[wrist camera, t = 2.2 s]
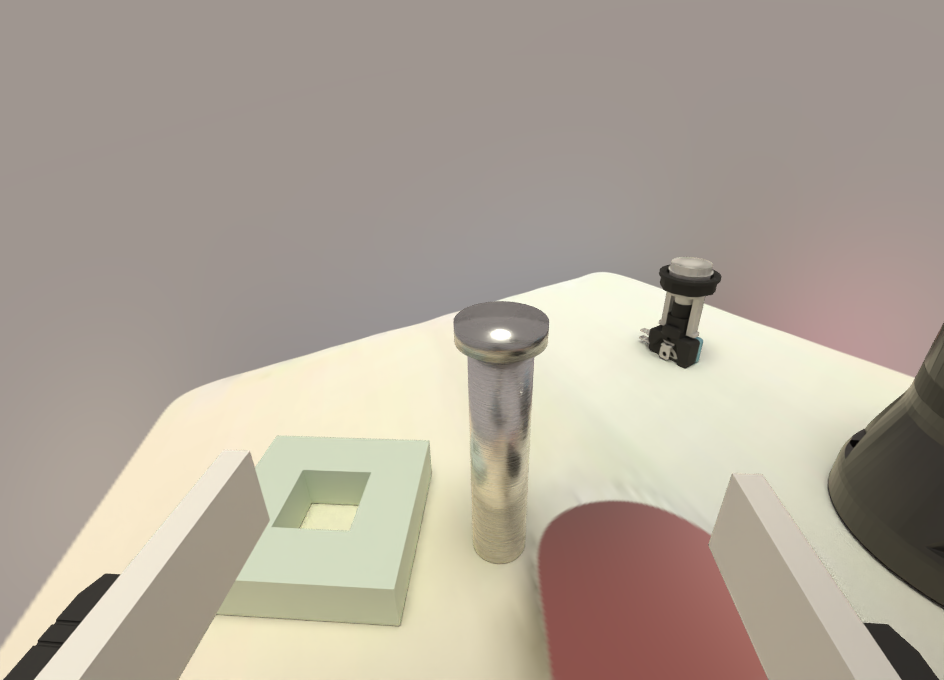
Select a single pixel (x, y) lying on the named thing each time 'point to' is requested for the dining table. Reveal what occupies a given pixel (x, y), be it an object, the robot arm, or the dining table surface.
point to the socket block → (335, 531)
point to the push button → (682, 309)
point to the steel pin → (500, 418)
